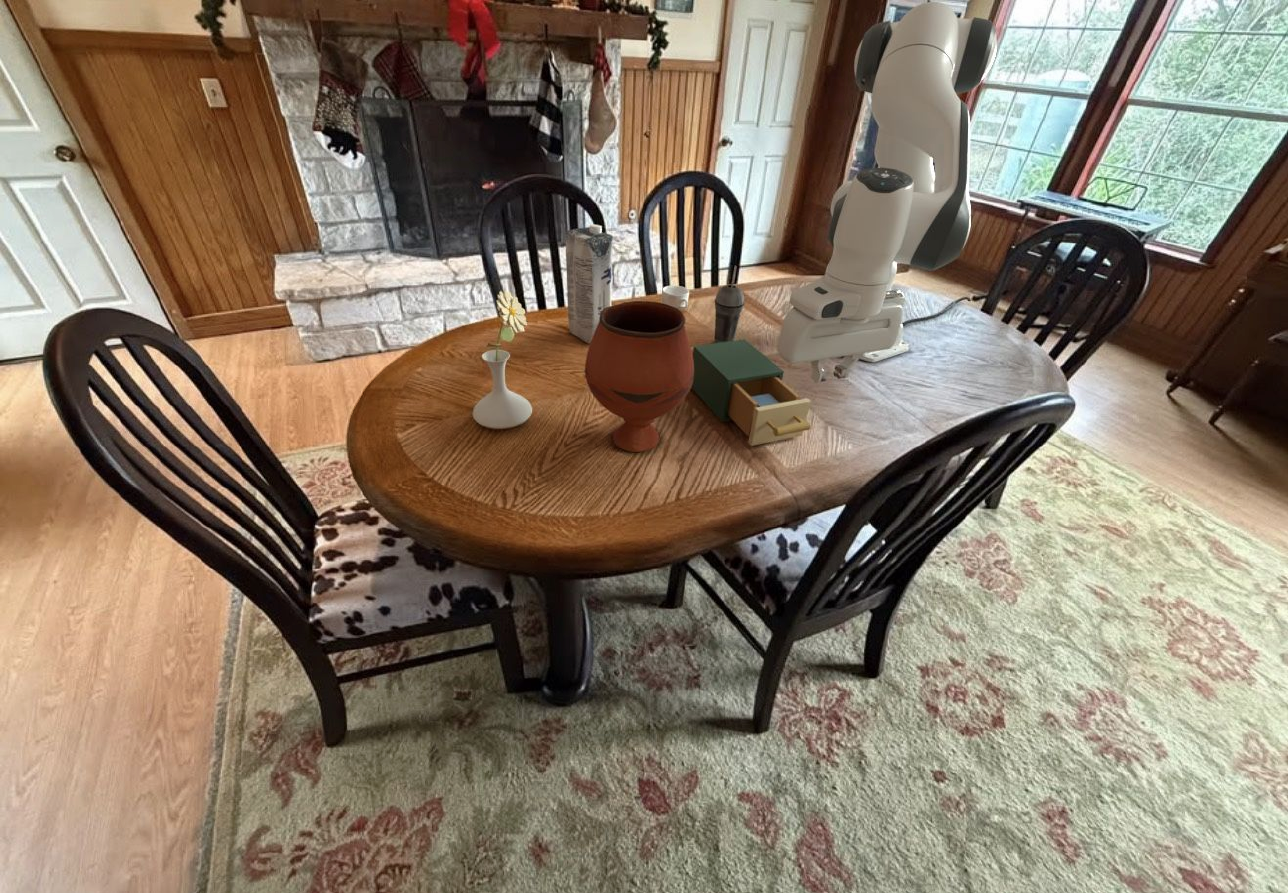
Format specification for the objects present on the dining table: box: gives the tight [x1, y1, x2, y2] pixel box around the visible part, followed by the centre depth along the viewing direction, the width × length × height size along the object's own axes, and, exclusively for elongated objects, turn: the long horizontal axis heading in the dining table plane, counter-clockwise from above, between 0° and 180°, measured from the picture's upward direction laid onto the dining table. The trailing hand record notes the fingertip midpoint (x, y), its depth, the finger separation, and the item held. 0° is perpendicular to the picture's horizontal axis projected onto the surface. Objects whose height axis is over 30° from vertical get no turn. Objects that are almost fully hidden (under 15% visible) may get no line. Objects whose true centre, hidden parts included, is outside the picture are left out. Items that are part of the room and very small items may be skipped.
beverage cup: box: [714, 265, 745, 343], centre depth 134 cm, size 7×7×20 cm
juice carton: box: [564, 224, 614, 345], centre depth 134 cm, size 9×10×27 cm
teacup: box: [661, 285, 690, 311], centre depth 157 cm, size 10×8×5 cm
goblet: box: [584, 300, 694, 453], centre depth 98 cm, size 19×19×25 cm
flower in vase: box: [472, 290, 533, 430], centre depth 102 cm, size 13×11×25 cm
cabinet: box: [691, 338, 785, 423], centre depth 116 cm, size 16×13×10 cm
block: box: [751, 394, 779, 407], centre depth 107 cm, size 4×4×4 cm
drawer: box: [727, 376, 812, 447], centre depth 107 cm, size 18×11×8 cm, turn 22°
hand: (829, 378), depth 88 cm, fingers open, 3 cm apart
